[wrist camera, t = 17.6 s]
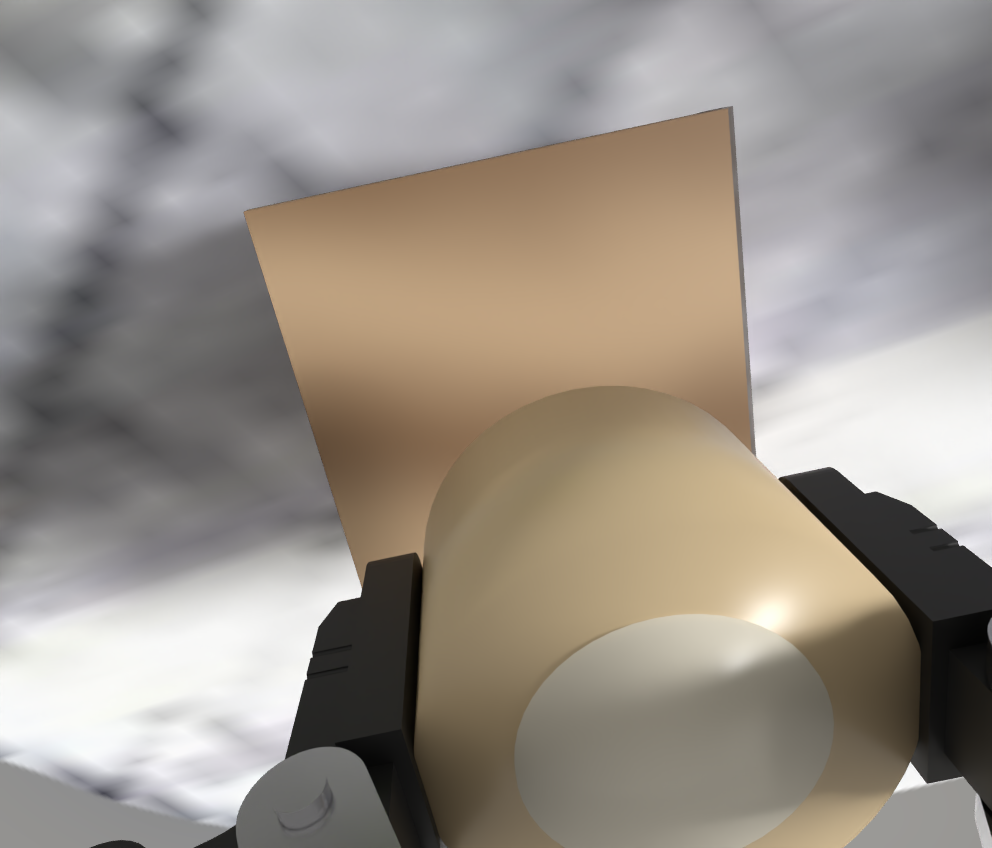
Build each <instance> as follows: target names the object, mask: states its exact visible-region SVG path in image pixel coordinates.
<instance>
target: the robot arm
mask: <svg viewBox="0 0 992 848" xmlns="http://www.w3.org/2000/svg"><path fill="white" fill-rule="evenodd" d="M778 480H779V481H780V482H781V483H782V484H783V485H784V486H785V487H786V488H787V489H788V490H789V491H790V492H791V493H792V494H793V495H794V496H795V497H796V498H797V499H798V500H799V501H800V502H801V503H802V504H803V505H804V506H805V507H806V508H807V509H808V510H809V511H810V512H811V513H812V514H813V515H814V516H815V517H816V518H817V519H818V520H819V521H820V522H821V523H822V524H823V525H824V526H825V527H826V528H827V529H828V530H829V531H830V532H831V533H832V534H833V535H834V536H835V537H836V538H837V539H838V540H839V541H840V542H841V543H842V544H843V545H844V546H845V547H846V548H847V549H848V550H849V551H850V552H851V553H852V554H853V555H854V556H855V557H856V558H857V559H858V560H859V561H860V562H861V563H862V564H863V565H864V566H865V567H866V568H867V569H868V570H869V571H870V572H871V573H872V574H873V575H874V576H875V577H876V579H877V580H878V581H879V582H880V583H881V584H882V585H883V586H884V587H885V588H886V589H887V590H888V591H889V592H890V593H891V594H892V596H893V597H894V598H895V600H896V601H897V603H898V604H899V606H900V607H901V609H902V610H903V612H904V613H905V615H906V616H907V618H908V619H909V622H910V624H911V626H912V629H913V631H914V633H915V636H916V638H917V641H918V643H919V646H920V650H921V670H920V706H919V739H918V743H917V746H916V749H915V751H914V754H913V756H912V758H911V760H910V762H911V763H912V764H913V766H914V767H915V768H916V770H917V771H918V772H919V774H920V775H921V776H922V778H923V779H924V780H925V782H926V783H927V784H928V783H933V782H938V781H943V780H948V779H953V778H958V777H964V778H965V779H966V780H967V782H968V783H969V784H970V785H971V786H972V787H973V789H974V790H975V791H976V802H975V820H976V825H977V828H978V832H979V835H980V839H981V842H982V846H983V848H992V567H990V566H989V565H988V564H987V563H985V562H984V561H983V560H981V559H980V558H979V557H978V556H976V555H975V554H974V553H972V552H971V551H970V550H969V549H967V548H966V547H965V546H959V544H958V541H957V540H956V539H954V538H953V537H952V536H950V535H949V534H948V533H947V532H945V531H944V530H943V529H938V528H937V525H936V524H935V523H934V522H932V521H931V520H930V519H929V518H927V517H926V516H925V515H923V514H922V513H921V512H920V511H918V510H917V509H916V508H914V507H913V506H912V505H910V504H907V503H904V502H902V501H899V500H897V499H894V498H892V497H889V496H886V495H884V494H881V493H879V492H871V493H866V494H864V493H863V492H862V491H861V490H860V489H858V488H857V487H856V486H855V485H854V484H852V483H851V482H850V481H849V480H848V479H846V478H845V477H844V476H843V475H842V474H840V473H839V472H838V471H837V470H835V469H834V468H831V467H827V468H822V469H817V470H812V471H808V472H803V473H798V474H793V475H788V476H783V477H780V478H779V479H778ZM422 572H423V568H422V564H421V561H420V559H419V556H418V554H417V553H416V552H414V553H409V554H404V555H399V556H394V557H390V558H385V559H380V560H375V561H370V562H368V563H367V566H366V571H365V576H364V582H363V587H362V593H361V597H360V598H355V599H351V600H346V601H341V602H338V603H337V604H336V605H335V607H334V608H333V609H332V611H331V612H330V613H329V614H328V616H327V617H326V618H325V620H324V621H323V622H322V623H321V625H320V626H319V628H318V632H317V636H316V639H315V643H314V647H313V651H312V654H313V658H311V659H310V663H309V667H308V671H307V680H305V682H304V686H303V690H302V694H301V698H300V702H299V706H298V710H297V714H296V718H295V722H294V726H293V729H292V733H291V737H290V741H289V745H288V749H287V753H286V757H285V760H284V761H282V762H280V763H279V764H277V765H276V766H274V767H273V768H272V769H270V770H269V771H268V772H267V773H266V774H265V775H263V776H262V777H261V778H260V779H259V780H258V781H257V783H256V784H255V785H254V786H253V787H252V789H251V790H250V791H249V793H248V794H247V796H246V797H245V799H244V801H243V803H242V805H241V807H240V810H239V813H238V816H237V821H236V825H235V826H233V827H232V828H230V829H229V830H227V831H226V832H224V833H222V834H220V835H218V836H217V837H215V838H213V839H211V840H209V841H207V842H205V843H203V844H200V845H199V846H196V847H194V848H448V847H447V846H446V845H445V844H444V843H443V841H442V840H441V838H440V836H439V833H438V830H437V827H436V823H435V820H434V817H433V814H432V811H431V808H430V804H429V801H428V798H427V795H426V792H425V789H424V785H423V782H422V779H421V776H420V773H419V770H418V767H417V763H416V760H415V757H414V732H415V712H416V692H417V672H418V652H419V632H420V612H421V592H422ZM91 848H145V847H143V846H142V845H141V844H139V843H136V842H133V841H125V840H118V841H111V842H106V843H102V844H99V845H96V846H93V847H91Z"/></svg>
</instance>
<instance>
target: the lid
mask: <svg viewBox="0 0 992 848" xmlns="http://www.w3.org/2000/svg"><path fill="white" fill-rule="evenodd" d="M244 215H245V219H246V222H247V225H248V228H249V231H250V234H251V238H252V241H253V244H254V247H255V250H256V253H257V257H258V260H259V263H260V266H261V269H262V272H263V276H264V279H265V282H266V285H267V288H268V291H269V295H270V298H271V301H272V304H273V307H274V310H275V314H276V317H277V320H278V323H279V326H280V330H281V333H282V336H283V339H284V342H285V345H286V349H287V352H288V355H289V358H290V361H291V364H292V368H293V371H294V374H295V377H296V380H297V383H298V387H299V390H300V393H301V396H302V399H303V402H304V406H305V409H306V412H307V415H308V418H309V421H310V425H311V428H312V431H313V434H314V437H315V440H316V444H317V447H318V450H319V453H320V456H321V460H322V463H323V466H324V469H325V472H326V475H327V479H328V482H329V485H330V488H331V491H332V494H333V498H334V501H335V504H336V507H337V510H338V513H339V517H340V520H341V523H342V526H343V529H344V532H345V536H346V539H347V542H348V545H349V548H350V551H351V555H352V558H353V561H354V564H355V567H356V570H357V574H358V577H359V580H360V583H361V586H362V587H363V582H364V576H365V571H366V566H367V563H368V562H370V561H375V560H380V559H385V558H390V557H394V556H399V555H404V554H409V553H414V552H416V553H417V554H418V556H419V559H420V561H421V564H422V568H423V552H424V540H425V531H426V525H427V521H428V517H429V513H430V510H431V506H432V504H433V501H434V499H435V497H436V494H437V492H438V490H439V487H440V485H441V483H442V482H443V480H444V478H445V477H446V475H447V474H448V472H449V470H450V469H451V467H452V466H453V464H454V463H455V462H456V461H457V459H458V458H459V457H460V456H461V454H462V453H463V452H464V451H465V449H466V448H467V447H468V446H469V445H470V444H472V443H473V442H474V441H475V440H476V439H477V438H478V437H479V436H480V435H481V434H482V433H483V432H484V431H486V430H487V429H488V428H490V427H491V426H492V425H494V424H495V423H496V422H498V421H499V420H501V419H502V418H503V417H505V416H507V415H509V414H511V413H512V412H514V411H516V410H518V409H519V408H521V407H523V406H525V405H527V404H530V403H532V402H535V401H537V400H540V399H542V398H544V397H547V396H550V395H554V394H558V393H561V392H565V391H569V390H573V389H580V388H587V387H594V386H629V387H638V388H646V389H650V390H654V391H658V392H662V393H666V394H669V395H672V396H675V397H677V398H680V399H682V400H685V401H687V402H690V403H691V404H693V405H695V406H697V407H698V408H700V409H702V410H704V411H705V412H707V413H709V414H710V415H711V416H713V417H714V418H715V419H717V420H718V421H719V422H720V423H722V424H723V425H724V426H726V427H727V428H728V429H729V430H730V431H731V432H732V433H733V434H734V435H735V436H736V437H737V438H738V439H739V440H740V441H741V442H742V443H743V444H744V445H745V446H746V448H747V449H748V450H749V451H750V452H751V453H752V454H753V455H754V456H755V457H756V449H755V434H754V419H753V404H752V389H751V373H750V358H749V343H748V328H747V313H746V298H745V283H744V267H743V252H742V237H741V222H740V207H739V192H738V176H737V161H736V146H735V131H734V116H733V106H731V107H725V108H719V109H714V110H709V111H705V112H700V113H697V114H693V115H689V116H684V117H679V118H675V119H670V120H665V121H661V122H656V123H651V124H647V125H642V126H637V127H633V128H628V129H623V130H619V131H614V132H609V133H604V134H600V135H595V136H590V137H586V138H581V139H576V140H572V141H567V142H562V143H558V144H553V145H548V146H544V147H539V148H534V149H530V150H525V151H520V152H516V153H511V154H506V155H502V156H497V157H492V158H488V159H483V160H478V161H474V162H469V163H464V164H460V165H455V166H450V167H445V168H441V169H436V170H431V171H427V172H422V173H417V174H413V175H408V176H403V177H399V178H394V179H389V180H385V181H380V182H375V183H371V184H366V185H361V186H357V187H352V188H347V189H343V190H338V191H333V192H329V193H324V194H319V195H315V196H310V197H305V198H301V199H296V200H291V201H286V202H282V203H277V204H272V205H268V206H263V207H258V208H254V209H249V210H247V211H244Z"/></svg>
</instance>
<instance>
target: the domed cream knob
mask: <svg viewBox="0 0 992 848" xmlns="http://www.w3.org/2000/svg"><path fill="white" fill-rule="evenodd" d="M920 670H921V650H920V646H919V643H918V641H917V638H916V636H915V633H914V631H913V629H912V626H911V624H910V622H909V619H908V618H907V616H906V615H905V613H904V612H903V610H902V609H901V607H900V606H899V604H898V603H897V601H896V600H895V598H894V597H893V596H892V594H891V593H890V592H889V591H888V590H887V589H886V588H885V587H884V586H883V585H882V584H881V583H880V582H879V581H878V580H877V579H876V577H875V576H874V575H873V574H872V573H871V572H870V571H869V570H868V569H867V568H866V567H865V566H864V565H863V564H862V563H861V562H860V561H859V560H858V559H857V558H856V557H855V556H854V555H853V554H852V553H851V552H850V551H849V550H848V549H847V548H846V547H845V546H844V545H843V544H842V543H841V542H840V541H839V540H838V539H837V538H836V537H835V536H834V535H833V534H832V533H831V532H830V531H829V530H828V529H827V528H826V527H825V526H824V525H823V524H822V523H821V522H820V521H819V520H818V519H817V518H816V517H815V516H814V515H813V514H812V513H811V512H810V511H809V510H808V509H807V508H806V507H805V506H804V505H803V504H802V503H801V502H800V501H799V500H798V499H797V498H796V497H795V496H794V495H793V494H792V493H791V492H790V491H789V490H788V489H787V488H786V487H785V486H784V485H783V484H782V483H781V482H780V481H779V480H778V479H777V478H776V477H775V476H774V475H773V474H772V473H771V472H770V471H769V470H768V469H767V468H766V467H765V466H764V465H763V464H762V463H761V462H760V461H759V460H758V459H757V458H756V457H755V456H754V455H753V454H752V453H751V452H750V451H749V450H748V449H747V448H746V446H745V445H744V444H743V443H742V442H741V441H740V440H739V439H738V438H737V437H736V436H735V435H734V434H733V433H732V432H731V431H730V430H729V429H728V428H727V427H726V426H724V425H723V424H722V423H720V422H719V421H718V420H717V419H715V418H714V417H713V416H711V415H710V414H709V413H707V412H705V411H704V410H702V409H700V408H698V407H697V406H695V405H693V404H691V403H690V402H687V401H685V400H682V399H680V398H677V397H675V396H672V395H669V394H666V393H662V392H658V391H654V390H650V389H646V388H638V387H629V386H594V387H587V388H580V389H573V390H569V391H565V392H561V393H558V394H554V395H550V396H547V397H544V398H542V399H540V400H537V401H535V402H532V403H530V404H527V405H525V406H523V407H521V408H519V409H518V410H516V411H514V412H512V413H511V414H509V415H507V416H505V417H503V418H502V419H501V420H499V421H498V422H496V423H495V424H494V425H492V426H491V427H490V428H488V429H487V430H486V431H484V432H483V433H482V434H481V435H480V436H479V437H478V438H477V439H476V440H475V441H474V442H473V443H472V444H470V445H469V446H468V447H467V448H466V449H465V451H464V452H463V453H462V454H461V456H460V457H459V458H458V459H457V461H456V462H455V463H454V464H453V466H452V467H451V469H450V470H449V472H448V474H447V475H446V477H445V478H444V480H443V482H442V483H441V485H440V487H439V490H438V492H437V494H436V497H435V499H434V501H433V504H432V506H431V510H430V513H429V517H428V521H427V525H426V531H425V540H424V552H423V572H422V592H421V612H420V632H419V652H418V672H417V692H416V712H415V732H414V757H415V760H416V763H417V767H418V770H419V773H420V776H421V779H422V782H423V785H424V789H425V792H426V795H427V798H428V801H429V804H430V808H431V811H432V814H433V817H434V820H435V823H436V827H437V830H438V833H439V836H440V838H441V840H442V841H443V843H444V844H445V845H446V846H447V847H448V848H843V847H844V846H845V845H847V844H848V843H849V842H850V841H852V840H853V839H854V838H855V837H856V836H857V835H858V834H859V833H860V832H861V831H862V830H863V829H864V828H865V827H866V826H867V824H869V823H870V821H871V820H873V818H874V817H875V816H876V815H877V813H878V812H879V811H880V810H881V808H882V807H883V806H884V804H885V803H886V802H887V801H888V799H889V798H890V797H891V795H892V794H893V792H894V790H895V789H896V787H897V785H898V784H899V782H900V780H901V779H902V777H903V775H904V774H905V772H906V770H907V767H908V765H909V763H910V760H911V758H912V756H913V754H914V751H915V749H916V746H917V743H918V739H919V706H920Z"/></svg>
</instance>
